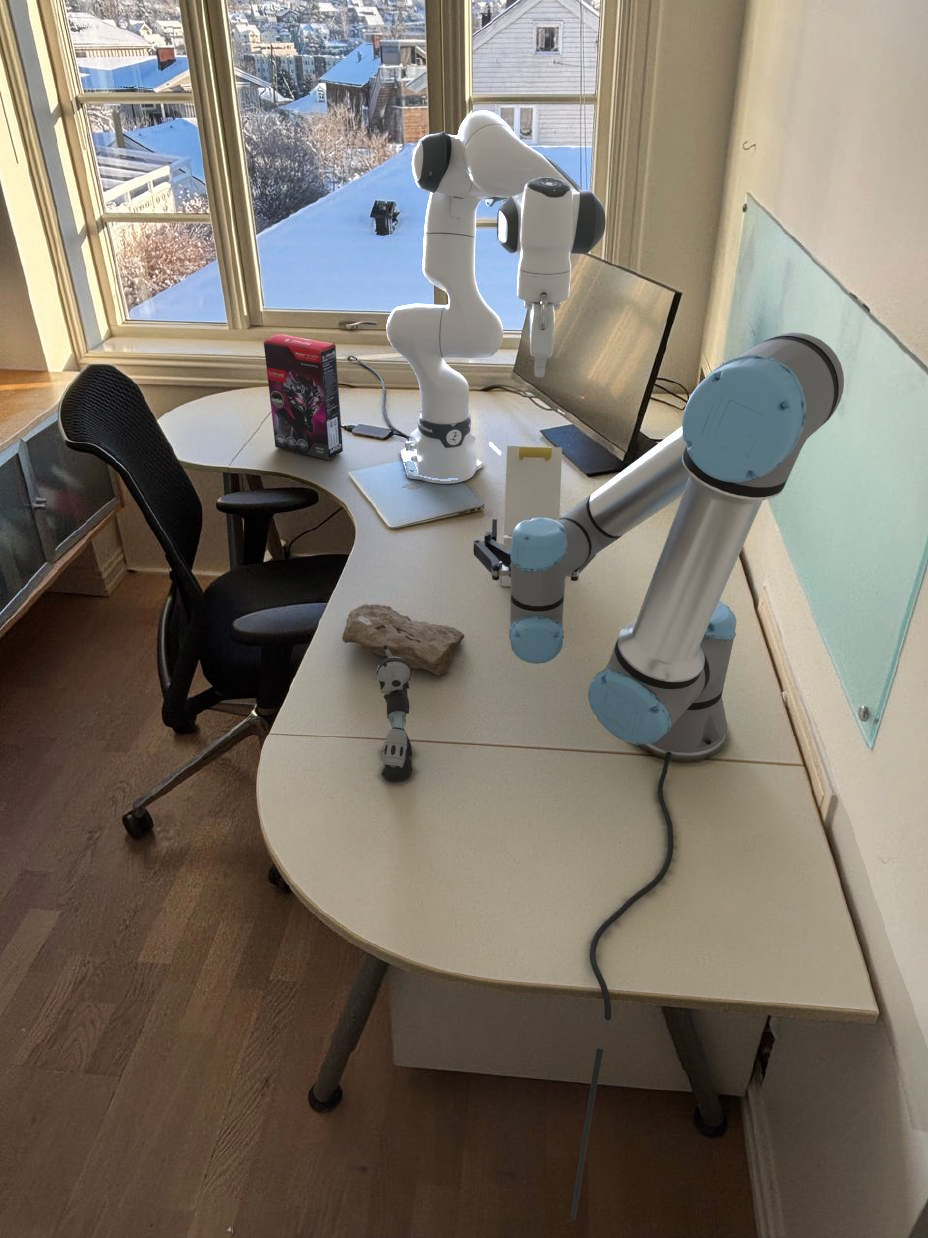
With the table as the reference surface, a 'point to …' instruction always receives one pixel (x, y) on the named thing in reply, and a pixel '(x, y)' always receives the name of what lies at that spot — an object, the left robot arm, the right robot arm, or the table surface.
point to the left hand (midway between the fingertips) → (539, 366)
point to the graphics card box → (304, 395)
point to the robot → (396, 716)
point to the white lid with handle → (532, 484)
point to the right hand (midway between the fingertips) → (534, 526)
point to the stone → (402, 637)
